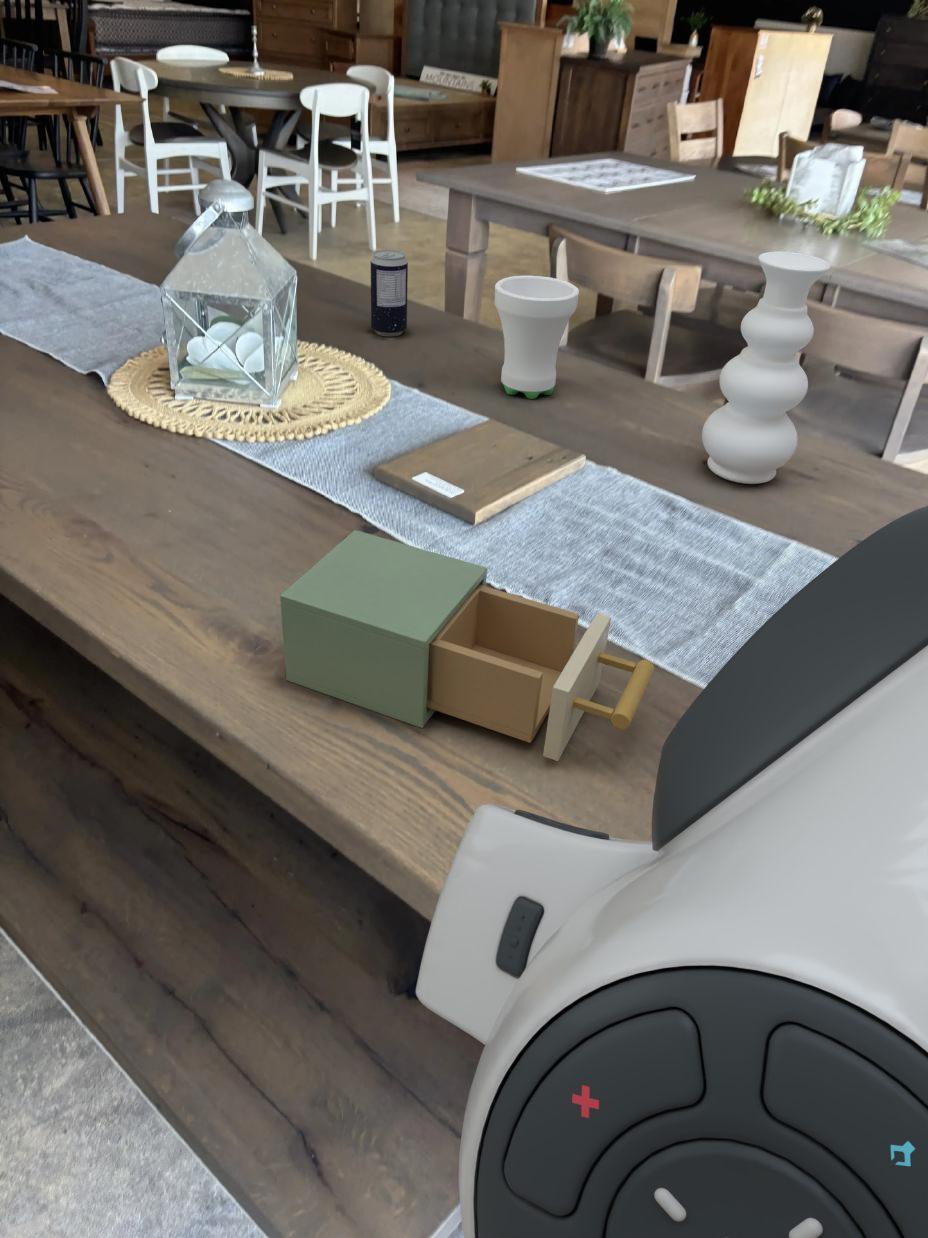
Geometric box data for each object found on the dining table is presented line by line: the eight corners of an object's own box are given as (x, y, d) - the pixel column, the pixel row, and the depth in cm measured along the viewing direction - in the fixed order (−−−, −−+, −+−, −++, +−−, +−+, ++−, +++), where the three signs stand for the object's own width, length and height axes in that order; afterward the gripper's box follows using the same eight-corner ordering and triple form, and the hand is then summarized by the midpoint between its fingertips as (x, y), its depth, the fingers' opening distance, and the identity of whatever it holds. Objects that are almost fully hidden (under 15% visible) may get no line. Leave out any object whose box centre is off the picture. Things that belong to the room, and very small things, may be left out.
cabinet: (481, 649, 79) (487, 567, 74) (422, 728, 70) (425, 642, 65) (356, 609, 82) (354, 529, 78) (286, 680, 74) (279, 595, 69)
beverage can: (413, 331, 146) (414, 253, 139) (394, 340, 142) (395, 260, 135) (383, 324, 148) (383, 246, 141) (364, 333, 144) (363, 254, 137)
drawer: (650, 699, 73) (665, 632, 69) (614, 781, 65) (628, 711, 61) (472, 643, 78) (477, 577, 74) (419, 713, 70) (421, 644, 66)
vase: (789, 463, 113) (849, 253, 98) (783, 501, 104) (848, 277, 90) (701, 446, 116) (747, 239, 101) (688, 482, 107) (737, 261, 93)
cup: (471, 384, 129) (477, 281, 120) (531, 370, 134) (540, 271, 126) (523, 411, 122) (533, 304, 113) (583, 395, 127) (597, 292, 119)
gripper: (1173, 1058, 23) (1002, 971, 36) (433, 783, 29) (518, 795, 42) (1112, 1319, 22) (960, 1132, 35) (366, 979, 28) (474, 929, 41)
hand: (715, 947), depth 38 cm, fingers open, 8 cm apart
